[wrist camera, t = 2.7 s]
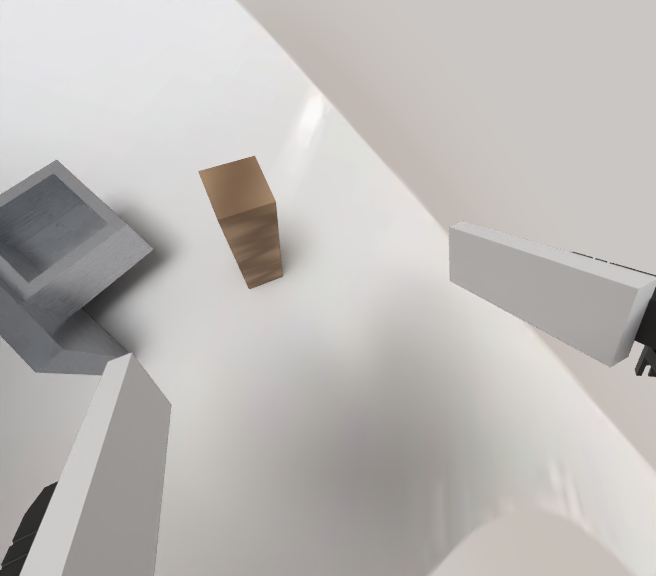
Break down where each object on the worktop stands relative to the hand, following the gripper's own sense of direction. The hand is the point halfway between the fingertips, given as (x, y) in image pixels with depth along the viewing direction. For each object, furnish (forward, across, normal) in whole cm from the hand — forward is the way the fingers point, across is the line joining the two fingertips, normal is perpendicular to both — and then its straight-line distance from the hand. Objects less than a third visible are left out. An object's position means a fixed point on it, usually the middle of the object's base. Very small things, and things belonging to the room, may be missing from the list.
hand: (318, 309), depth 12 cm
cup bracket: (+27, -16, -2) cm, 31 cm away
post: (+23, -1, -7) cm, 24 cm away
